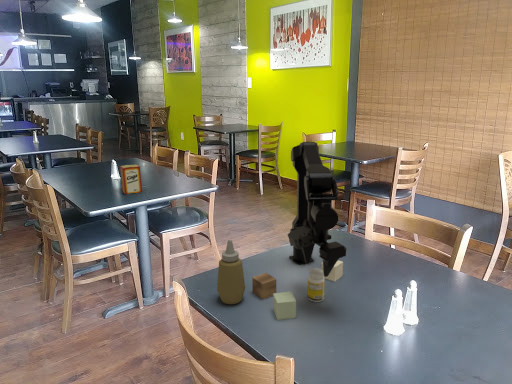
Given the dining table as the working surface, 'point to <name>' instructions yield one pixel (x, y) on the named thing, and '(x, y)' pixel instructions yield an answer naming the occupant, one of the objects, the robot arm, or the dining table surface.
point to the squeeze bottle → (230, 276)
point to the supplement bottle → (316, 285)
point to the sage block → (284, 305)
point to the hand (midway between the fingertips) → (316, 269)
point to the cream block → (335, 271)
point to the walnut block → (264, 285)
